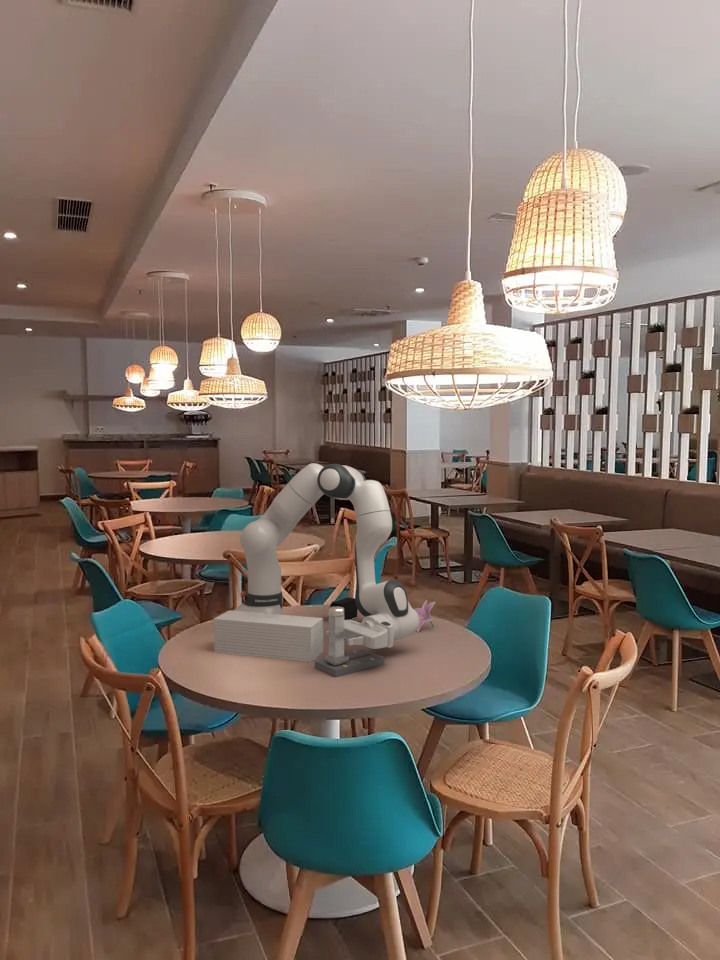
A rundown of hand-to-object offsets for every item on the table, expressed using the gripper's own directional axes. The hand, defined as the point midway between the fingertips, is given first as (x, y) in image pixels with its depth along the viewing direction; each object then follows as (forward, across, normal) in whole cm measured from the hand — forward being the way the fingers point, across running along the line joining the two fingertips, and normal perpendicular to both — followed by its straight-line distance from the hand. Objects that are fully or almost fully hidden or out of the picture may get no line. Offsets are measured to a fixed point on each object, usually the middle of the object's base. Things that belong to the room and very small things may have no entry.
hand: (337, 638), depth 213 cm
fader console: (-5, 0, +9) cm, 10 cm away
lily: (-49, -15, +9) cm, 52 cm away
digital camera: (-35, -42, +9) cm, 55 cm away
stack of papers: (+7, -26, +10) cm, 29 cm away
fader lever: (0, 0, +7) cm, 7 cm away
